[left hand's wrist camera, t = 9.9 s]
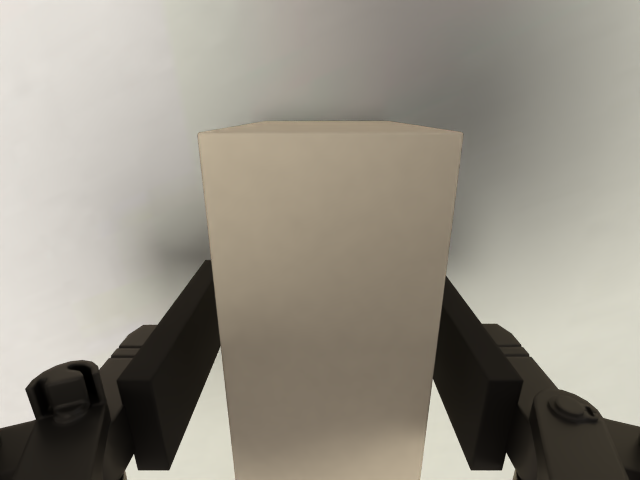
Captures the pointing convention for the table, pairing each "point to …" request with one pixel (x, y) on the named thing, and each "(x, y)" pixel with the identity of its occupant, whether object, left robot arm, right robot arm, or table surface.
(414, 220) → the post
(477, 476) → the table surface
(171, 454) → the left robot arm
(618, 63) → the table surface
